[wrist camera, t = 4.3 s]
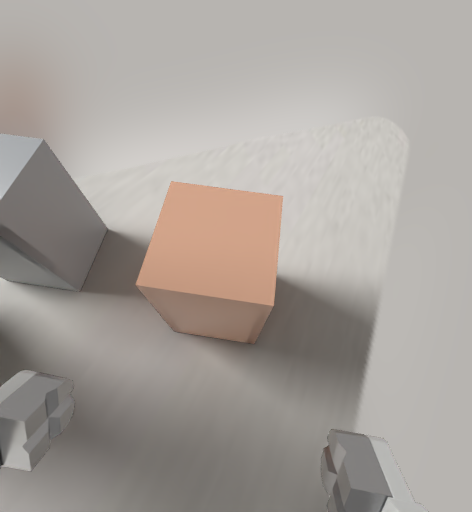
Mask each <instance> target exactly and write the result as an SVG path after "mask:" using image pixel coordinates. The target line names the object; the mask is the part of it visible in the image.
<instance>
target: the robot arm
mask: <svg viewBox="0 0 472 512" xmlns="http://www.w3.org/2000/svg"><path fill="white" fill-rule="evenodd" d="M73 389H74V387H73V380H70V379H67V378H63V377H58V376H54V375H49V374H45V373H39V372H35V371H30V370H23V371H20V372H18V373H17V374H16V375H14V376H13V377H12V378H11V379H9V380H8V381H7V382H6V383H4V384H3V385H2V386H1V387H0V469H1V466H3V467H8V468H14V469H20V470H26V471H32V470H33V469H34V467H35V466H36V465H37V464H38V462H39V461H40V460H41V458H42V457H43V456H44V455H45V453H46V452H47V451H48V450H49V448H50V440H51V439H52V438H54V437H56V436H58V435H59V434H61V433H62V432H63V430H64V429H65V428H66V426H67V425H68V423H69V421H70V419H71V417H72V415H73V412H74V407H75V402H74V399H73V397H72V396H71V395H70V392H71V391H72V390H73ZM327 439H328V444H329V446H327V447H326V448H324V449H323V453H322V457H321V477H322V483H323V487H324V489H325V490H326V491H327V493H328V494H329V496H330V497H329V500H328V503H327V509H328V512H429V511H428V510H427V509H426V508H425V507H424V506H423V505H422V504H420V503H416V502H415V500H414V498H413V496H412V494H411V492H410V490H409V487H408V485H407V483H406V481H405V479H404V477H403V475H402V473H401V470H400V468H399V466H398V464H397V462H396V460H395V458H394V456H393V453H392V451H391V449H390V447H389V445H388V443H387V441H386V440H385V439H384V438H379V437H374V436H368V435H364V434H358V433H353V432H347V431H342V430H336V429H331V430H330V431H329V434H328V437H327Z"/></svg>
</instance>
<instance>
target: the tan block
mask: <svg viewBox="0 0 472 512" xmlns="http://www.w3.org/2000/svg"><path fill="white" fill-rule="evenodd" d="M282 202H283V196H278V195H271V194H263V193H255V192H248V191H240V190H233V189H225V188H218V187H210V186H203V185H195V184H188V183H180V182H173V181H171V183H170V186H169V189H168V192H167V195H166V198H165V201H164V204H163V207H162V210H161V212H160V215H159V218H158V221H157V224H156V227H155V230H154V233H153V236H152V238H151V241H150V244H149V247H148V250H147V253H146V256H145V259H144V262H143V264H142V267H141V270H140V273H139V276H138V279H137V282H136V286H137V288H138V289H139V290H140V291H141V292H142V294H143V295H144V296H145V297H146V298H147V300H148V301H149V302H150V303H151V304H152V306H153V307H154V308H155V309H156V310H157V312H158V313H159V314H160V315H161V316H162V318H163V319H164V320H165V321H166V322H167V324H168V325H169V326H170V327H171V328H172V330H173V331H175V332H181V333H187V334H194V335H200V336H206V337H213V338H219V339H225V340H232V341H238V342H244V343H251V344H255V342H256V340H257V338H258V336H259V334H260V332H261V330H262V328H263V326H264V324H265V322H266V320H267V318H268V316H269V314H270V312H271V310H272V309H273V307H274V298H275V286H276V274H277V262H278V250H279V238H280V226H281V214H282Z"/></svg>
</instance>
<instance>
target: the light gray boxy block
mask: <svg viewBox="0 0 472 512" xmlns="http://www.w3.org/2000/svg"><path fill="white" fill-rule="evenodd" d="M107 230H108V228H107V227H106V225H105V224H104V223H103V221H102V220H101V218H100V217H99V216H98V214H97V213H96V211H95V210H94V209H93V207H92V206H91V204H90V203H89V202H88V200H87V199H86V197H85V196H84V195H83V193H82V192H81V190H80V189H79V188H78V186H77V185H76V184H75V182H74V181H73V179H72V178H71V177H70V175H69V174H68V172H67V171H66V170H65V168H64V167H63V166H62V164H61V163H60V161H59V160H58V158H57V157H56V156H55V154H54V153H53V151H52V150H51V149H50V147H49V146H48V144H47V143H46V142H45V140H44V139H38V138H30V137H22V136H15V135H7V134H0V277H1V278H3V279H5V280H7V281H13V282H20V283H26V284H33V285H39V286H46V287H52V288H59V289H65V290H72V291H79V292H80V290H81V288H82V286H83V284H84V281H85V279H86V277H87V275H88V272H89V270H90V268H91V266H92V263H93V261H94V259H95V257H96V254H97V252H98V250H99V248H100V245H101V243H102V241H103V239H104V236H105V234H106V232H107Z"/></svg>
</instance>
